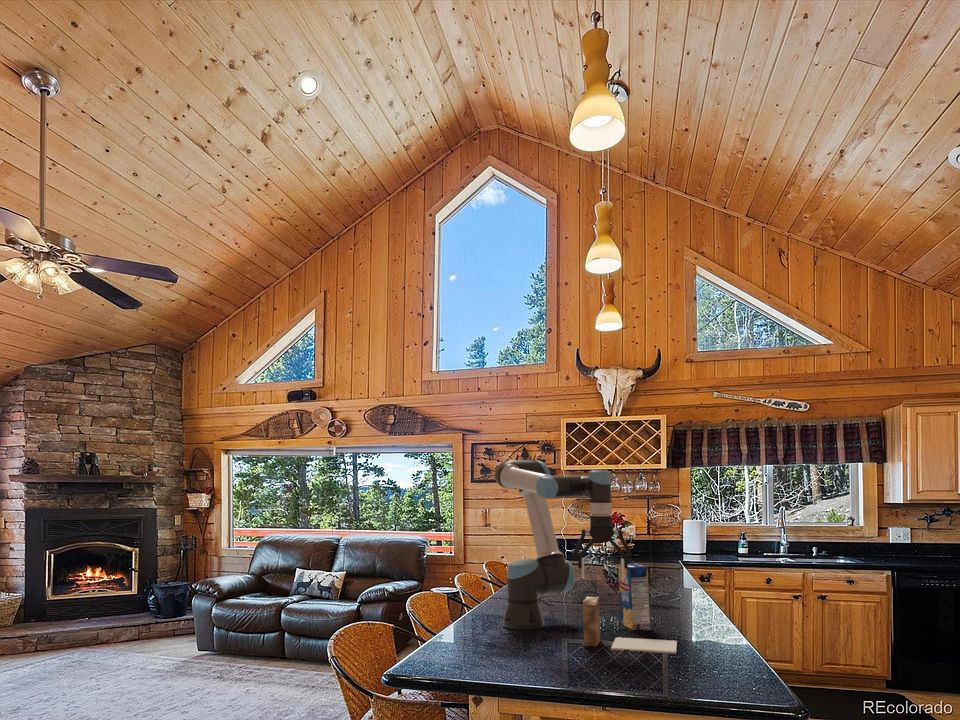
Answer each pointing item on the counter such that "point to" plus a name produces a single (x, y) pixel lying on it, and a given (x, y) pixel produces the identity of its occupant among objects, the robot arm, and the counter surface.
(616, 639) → the felt mat
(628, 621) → the beverage box
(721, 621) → the counter surface
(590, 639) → the beige rectangular box
